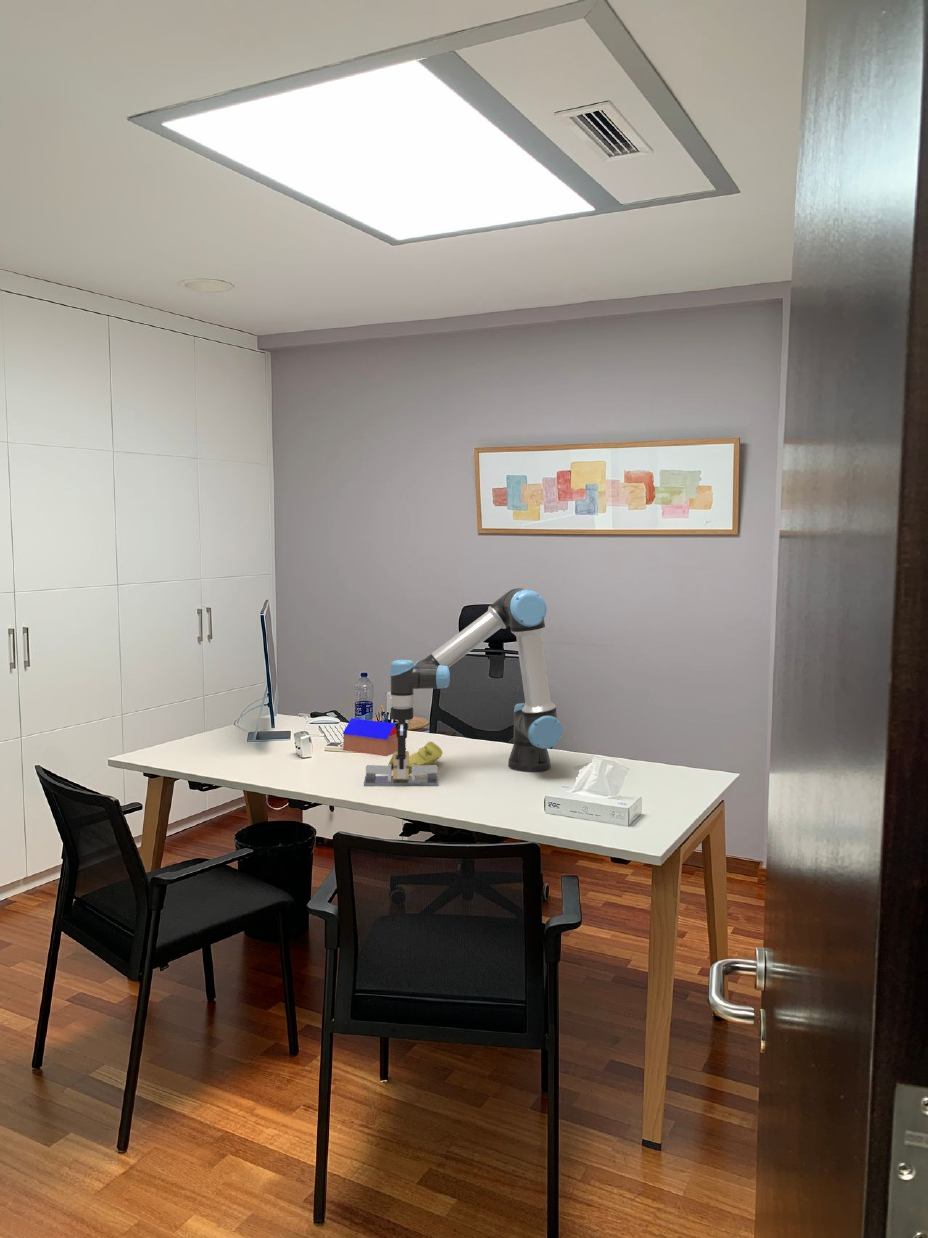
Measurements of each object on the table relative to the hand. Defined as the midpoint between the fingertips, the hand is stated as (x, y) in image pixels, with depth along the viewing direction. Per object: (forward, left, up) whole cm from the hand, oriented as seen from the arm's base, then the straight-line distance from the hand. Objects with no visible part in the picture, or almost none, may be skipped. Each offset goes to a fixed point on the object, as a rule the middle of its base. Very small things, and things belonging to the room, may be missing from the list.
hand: (401, 775), depth 303 cm
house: (+21, -43, -3) cm, 48 cm away
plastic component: (-1, -22, -3) cm, 22 cm away
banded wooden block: (0, 0, 0) cm, 0 cm away
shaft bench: (0, 0, -2) cm, 2 cm away
